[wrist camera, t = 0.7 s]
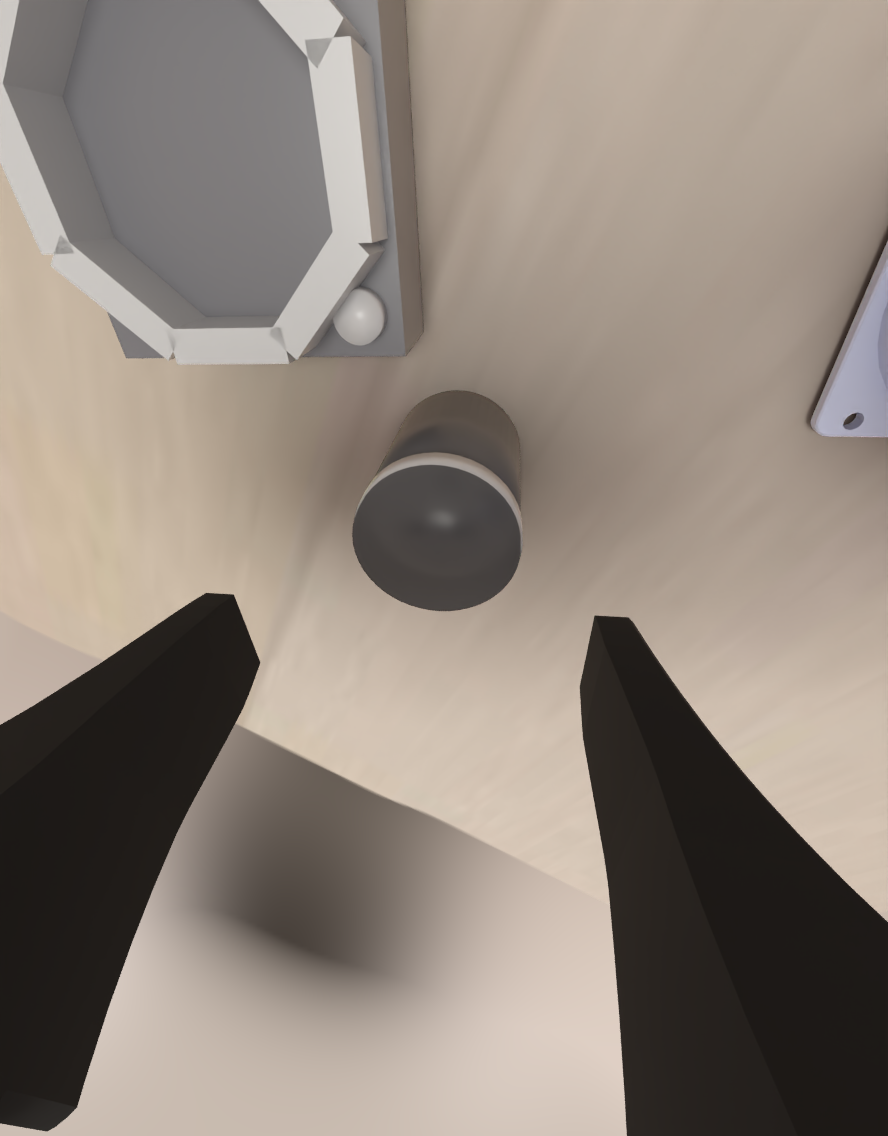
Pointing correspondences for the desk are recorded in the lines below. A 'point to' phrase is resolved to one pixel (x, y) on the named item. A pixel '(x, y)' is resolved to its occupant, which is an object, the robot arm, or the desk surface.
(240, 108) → the mount
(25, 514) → the desk surface
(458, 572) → the lens
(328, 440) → the desk surface
